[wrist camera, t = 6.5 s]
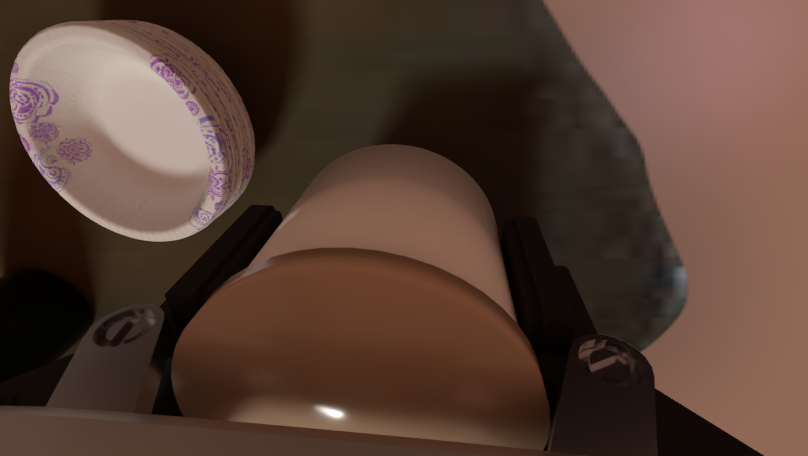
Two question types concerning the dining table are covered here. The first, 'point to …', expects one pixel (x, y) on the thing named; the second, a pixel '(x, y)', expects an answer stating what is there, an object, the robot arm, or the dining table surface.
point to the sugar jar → (372, 315)
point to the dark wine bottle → (37, 321)
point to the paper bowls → (132, 126)
